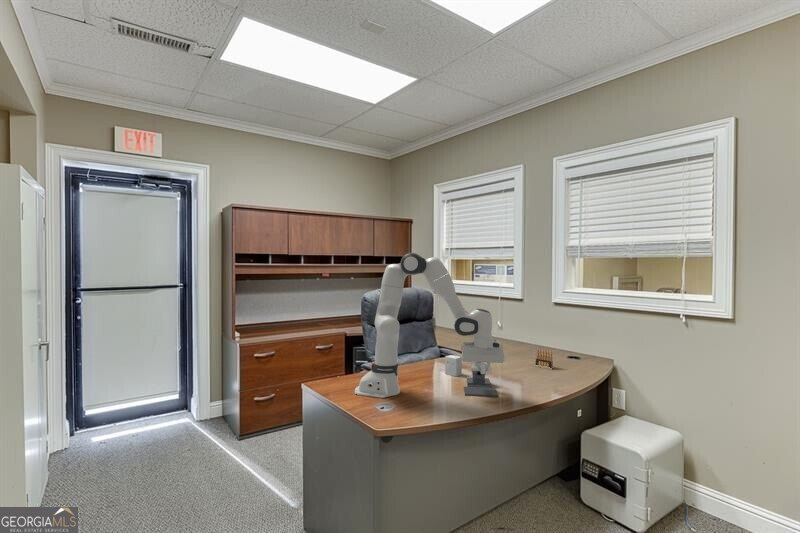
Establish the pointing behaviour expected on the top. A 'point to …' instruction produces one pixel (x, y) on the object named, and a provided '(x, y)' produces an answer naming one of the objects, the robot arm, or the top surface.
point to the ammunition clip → (544, 358)
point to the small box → (453, 365)
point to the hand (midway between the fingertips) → (482, 371)
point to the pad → (480, 391)
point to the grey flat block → (481, 367)
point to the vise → (478, 379)
